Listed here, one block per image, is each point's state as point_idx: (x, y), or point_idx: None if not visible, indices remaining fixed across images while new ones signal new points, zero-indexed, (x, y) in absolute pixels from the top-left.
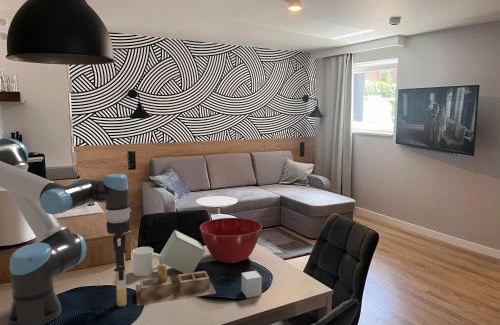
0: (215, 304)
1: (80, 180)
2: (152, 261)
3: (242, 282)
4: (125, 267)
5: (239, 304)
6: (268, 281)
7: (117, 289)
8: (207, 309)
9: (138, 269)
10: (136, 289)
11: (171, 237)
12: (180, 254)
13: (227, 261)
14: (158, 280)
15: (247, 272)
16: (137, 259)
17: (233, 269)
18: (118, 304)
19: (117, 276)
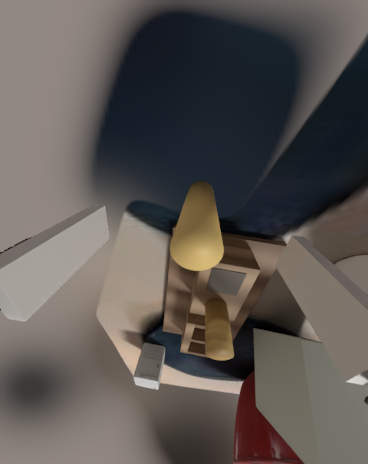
0: (140, 317)
1: None
2: None
3: (156, 363)
4: (285, 281)
5: (131, 332)
6: (175, 367)
7: (94, 204)
8: (129, 307)
9: (359, 280)
10: (260, 243)
11: None
12: (282, 384)
13: (254, 373)
14: (215, 301)
15: (155, 384)
16: None
17: (232, 363)
18: (192, 186)
19: (34, 242)
